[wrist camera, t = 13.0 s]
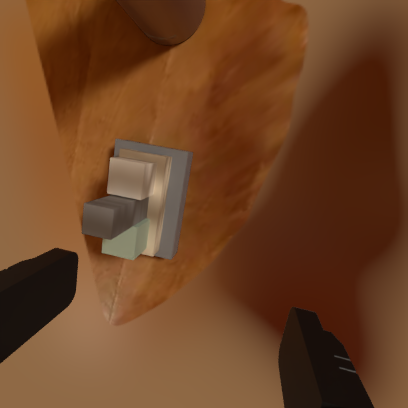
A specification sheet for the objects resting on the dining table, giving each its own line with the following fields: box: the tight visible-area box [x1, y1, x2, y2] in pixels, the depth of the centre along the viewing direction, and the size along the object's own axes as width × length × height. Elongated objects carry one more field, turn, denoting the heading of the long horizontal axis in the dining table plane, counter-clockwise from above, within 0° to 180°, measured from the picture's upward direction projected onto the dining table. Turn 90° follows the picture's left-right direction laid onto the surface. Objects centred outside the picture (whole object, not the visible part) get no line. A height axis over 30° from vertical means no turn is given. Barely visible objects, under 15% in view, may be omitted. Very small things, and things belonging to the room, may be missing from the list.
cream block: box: [107, 157, 157, 200], centre depth 31 cm, size 4×4×4 cm
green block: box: [102, 218, 150, 260], centre depth 32 cm, size 4×4×4 cm
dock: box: [110, 139, 193, 260], centre depth 37 cm, size 15×10×3 cm, turn 170°
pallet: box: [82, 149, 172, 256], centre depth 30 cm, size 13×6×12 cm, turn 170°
